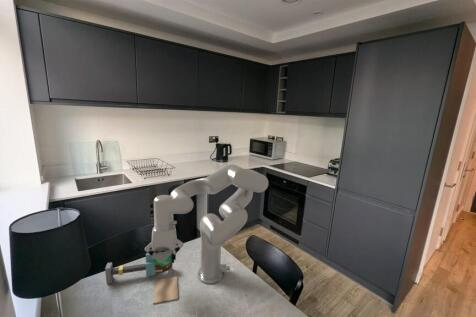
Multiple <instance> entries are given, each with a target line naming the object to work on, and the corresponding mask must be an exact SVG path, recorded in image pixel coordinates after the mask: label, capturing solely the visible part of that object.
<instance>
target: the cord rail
mask: <svg viewBox="0 0 476 317" xmlns="http://www.w3.org/2000/svg"><path fill="white" fill-rule="evenodd" d="M173 270H174V269H173V266H172V267H171V268H170V269H169V270H168V271H167V273H168V274H173V273H174V272H173ZM104 271H105V281H106V284H107V285H110V284H112V283H113V280H114V276H115V275H118V276H123V275H124V274H128V273H134V272H141V271H146V263H142V264H141V263H139V264H135V265H134V264H133V265H128V266H124V265H119V267H114V268H113V262H107V264H106V265H105V268H104Z"/></svg>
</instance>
